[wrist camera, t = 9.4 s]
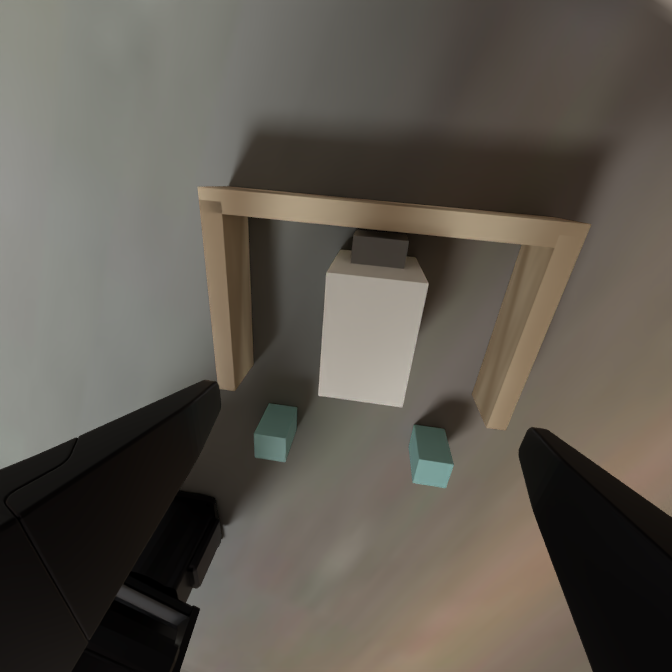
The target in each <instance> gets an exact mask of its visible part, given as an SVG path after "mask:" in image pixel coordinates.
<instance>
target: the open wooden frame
mask: <svg viewBox="0 0 672 672" xmlns="http://www.w3.org/2000/svg"><path fill="white" fill-rule="evenodd" d="M198 195H199V205H200V214H201V224H202V234H203V244H204V254H205V264H206V274H207V284H208V293H209V303H210V313H211V323H212V333H213V343H214V353H215V363H216V372H217V382H218V384H219V389H224V390H230V391H235V390H236V389H237V388H238V386H239V385H240V383H241V382H242V380H243V379H244V378H245V376H246V375H247V373H248V372H249V370H250V369H251V368H252V366H253V365H254V359H253V333H252V308H251V283H250V257H249V232H248V217H256V218H266V219H276V220H286V221H296V222H306V223H315V224H325V225H335V226H345V227H355V228H365V229H374V230H384V231H394V232H404V233H414V234H424V235H434V236H443V237H453V238H463V239H473V240H483V241H493V242H502V243H512V244H522V245H521V248H520V251H519V254H518V257H517V260H516V263H515V266H514V269H513V272H512V275H511V278H510V281H509V284H508V287H507V290H506V293H505V296H504V299H503V302H502V305H501V308H500V311H499V314H498V317H497V320H496V323H495V327H494V330H493V333H492V336H491V339H490V342H489V345H488V348H487V351H486V354H485V357H484V360H483V363H482V366H481V369H480V372H479V375H478V378H477V381H476V384H475V387H474V390H473V393H472V396H473V398H474V400H475V403H476V405H477V407H478V409H479V412H480V414H481V416H482V419H483V421H484V423H485V425H486V428H492V429H499V430H506V428H507V426H508V424H509V421H510V419H511V416H512V414H513V412H514V409H515V407H516V404H517V402H518V400H519V397H520V395H521V392H522V390H523V388H524V385H525V383H526V380H527V378H528V375H529V373H530V371H531V368H532V366H533V363H534V361H535V359H536V356H537V354H538V351H539V349H540V347H541V344H542V342H543V339H544V337H545V335H546V332H547V330H548V327H549V325H550V323H551V320H552V318H553V315H554V313H555V311H556V308H557V306H558V303H559V301H560V299H561V296H562V294H563V291H564V289H565V287H566V284H567V282H568V279H569V277H570V275H571V272H572V270H573V267H574V265H575V262H576V260H577V258H578V255H579V253H580V250H581V248H582V246H583V243H584V241H585V238H586V236H587V234H588V231H589V229H590V226H591V224H587V223H582V222H576V221H571V220H566V219H561V218H555V217H547V216H536V215H526V214H515V213H504V212H494V211H483V210H473V209H462V208H451V207H441V206H430V205H420V204H409V203H399V202H388V201H377V200H367V199H356V198H346V197H335V196H325V195H314V194H303V193H293V192H282V191H272V190H261V189H251V188H240V187H229V186H218V187H198Z"/></svg>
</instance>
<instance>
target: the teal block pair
mask: <svg viewBox="0 0 672 672" xmlns="http://www.w3.org/2000/svg"><path fill="white" fill-rule="evenodd" d="M296 430H297V407H292V406H285V405H278V404H271V403H269V404H268V406H267V408H266V410H265V412H264V414H263V416H262V418H261V420H260V422H259V424H258V426H257V428H256V430H255V432H254V451H255V458H262V459H268V460H274V461H280V462H286V459H287V456H288V453H289V450H290V447H291V444H292V441H293V438H294V436H295V433H296ZM409 454H410V463H411V472H412V481H413V483H417V484H423V485H429V486H436V487H442V488H446V486H447V483H448V480H449V477H450V474H451V472H452V469H453V466H454V463H453V460H452V456H451V452H450V448H449V444H448V441H447V437H446V433H445V429H441V428H435V427H428V426H421V425H414V427H413V431H412V435H411V439H410V443H409Z"/></svg>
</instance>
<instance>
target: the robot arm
mask: <svg viewBox="0 0 672 672" xmlns="http://www.w3.org/2000/svg"><path fill="white" fill-rule="evenodd" d="M220 408H221V398H220V389H219V384H218V383H217V382H216V381H210V380H203V381H200V382H198V383H196V384H194V385H192V386H189V387H187V388H185V389H183V390H180V391H178V392H176V393H174V394H172V395H169V396H167V397H165V398H163V399H160V400H158V401H156V402H154V403H151V404H149V405H147V406H145V407H143V408H140V409H138V410H136V411H134V412H131V413H129V414H127V415H125V416H123V417H120V418H118V419H116V420H114V421H111V422H109V423H107V424H105V425H103V426H100V427H98V428H96V429H94V430H91V431H89V432H87V433H85V434H83V435H80V436H79V437H78V438H73V439H71V440H69V441H67V442H65V443H62V444H60V445H58V446H56V447H53V448H51V449H49V450H46V451H44V452H42V453H40V454H37V455H35V456H33V457H30V458H28V459H25V460H23V461H20V462H18V463H15V464H13V465H10V466H8V467H5V468H3V469H0V672H180V669H181V666H182V663H183V660H184V657H185V654H186V651H187V647H188V644H189V641H190V638H191V635H192V632H193V629H194V626H195V623H196V620H197V617H198V614H199V611H200V608H198V607H196V606H194V605H193V606H191V605H189V604H187V603H186V601H187V599H188V597H189V595H190V593H191V590H192V588H196V589H197V588H198V587H200V586H201V584H202V581H203V579H204V577H205V575H206V572H207V570H208V568H209V566H210V563H211V561H212V559H213V557H214V554H215V552H216V550H217V548H218V547H219V545H220V543H221V539H222V535H221V528H220V521H219V519H218V513H217V505H216V500H215V499H214V498H212V497H208V496H202V495H196V494H190V493H184V492H179V489H180V487H181V486H182V484H183V482H184V481H185V479H186V477H187V476H188V474H189V472H190V471H191V469H192V467H193V466H194V464H195V462H196V460H197V459H198V457H199V455H200V453H201V451H202V449H203V447H204V444H205V442H206V440H207V438H208V436H209V433H210V431H211V429H212V427H213V425H214V423H215V420H216V418H217V416H218V414H219V411H220ZM519 460H520V464H521V468H522V471H523V475H524V479H525V483H526V487H527V491H528V495H529V498H530V502H531V506H532V509H533V512H534V515H535V518H536V521H537V523H538V526H539V529H540V531H541V534H542V537H543V539H544V542H545V545H546V548H547V550H548V553H549V556H550V558H551V561H552V564H553V566H554V569H555V572H556V574H557V577H558V580H559V582H560V585H561V588H562V590H563V593H564V596H565V598H566V601H567V604H568V606H569V609H570V612H571V614H572V617H573V620H574V623H575V625H576V628H577V631H578V633H579V636H580V639H581V641H582V644H583V647H584V649H585V652H586V655H587V657H588V660H589V663H590V665H591V668H592V671H593V672H672V517H670V516H669V515H668V514H666V513H665V512H663V511H662V510H660V509H659V508H658V507H656V506H655V505H653V504H652V503H651V502H649V501H648V500H646V499H645V498H643V497H642V496H641V495H639V494H638V493H636V492H635V491H634V490H632V489H631V488H629V487H628V486H626V485H625V484H624V483H622V482H621V481H619V480H618V479H617V478H615V477H614V476H612V475H611V474H610V473H608V472H607V471H605V470H604V469H602V468H601V467H600V466H598V465H597V464H595V463H594V462H593V461H591V460H590V459H588V458H587V457H585V456H584V455H583V454H581V453H580V452H578V451H577V450H576V449H574V448H573V447H571V446H570V445H568V444H567V443H566V442H564V441H563V440H561V439H560V438H559V437H557V436H556V435H554V434H553V433H551V432H550V431H549V430H547V429H542V428H535V427H531V428H529V429H528V430H527V432H526V434H525V437H524V439H523V441H522V443H521V445H520V448H519Z"/></svg>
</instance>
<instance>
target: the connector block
mask: <svg viewBox="0 0 672 672" xmlns="http://www.w3.org/2000/svg"><path fill="white" fill-rule="evenodd" d="M408 245H409V240H408V238H407V236H406V235H405V234H395V233H385V232H375V231H365V230H356V231H355V233H354V235H353V244H352V251H351V250H341V249H340V251H339V252H338V254H337V256H336V257H335V259H334V261H333V262H332V264H331V266H330V267H329V269H328V271H327V272H326V286H325V301H324V316H323V331H322V347H321V362H320V377H319V392H318V396H324V397H332V398H339V399H346V400H353V401H360V402H367V403H374V404H382V405H389V406H396V407H402V406H403V402H404V397H405V392H406V388H407V383H408V378H409V374H410V369H411V364H412V360H413V355H414V350H415V346H416V341H417V336H418V332H419V327H420V322H421V318H422V313H423V308H424V304H425V299H426V294H427V290H428V285H429V283H428V281H427V279H426V277H425V275H424V273H423V271H422V269H421V267H420V265H419V263H418V261H417V259H416V257H408V256H407V251H408Z"/></svg>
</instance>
